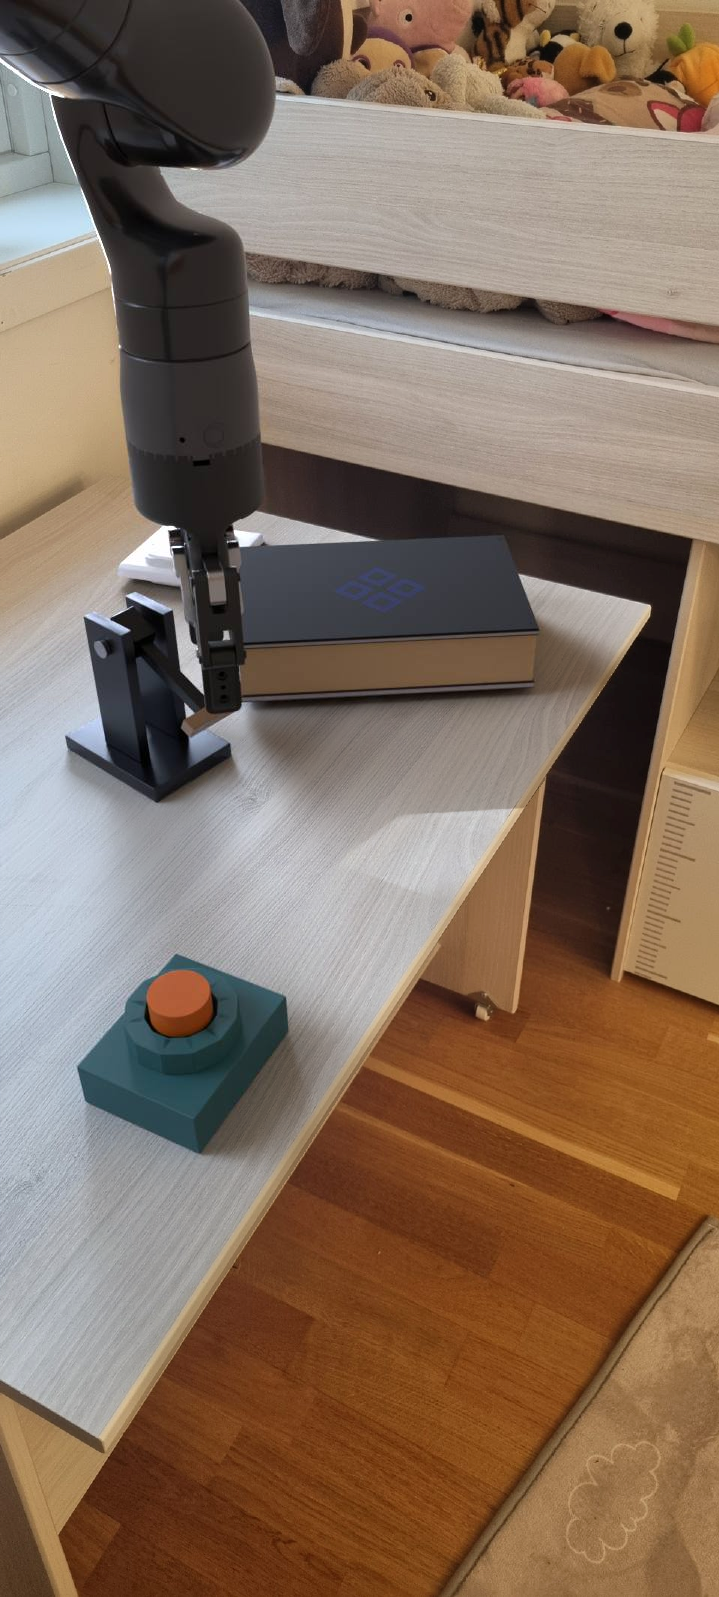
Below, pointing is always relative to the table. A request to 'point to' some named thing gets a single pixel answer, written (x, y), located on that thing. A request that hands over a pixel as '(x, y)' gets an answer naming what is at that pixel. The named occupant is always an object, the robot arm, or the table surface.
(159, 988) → the power button
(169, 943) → the table surface
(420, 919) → the table surface
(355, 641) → the book
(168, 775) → the black pivot stand
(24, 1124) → the table surface
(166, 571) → the light switch
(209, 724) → the switch lever
